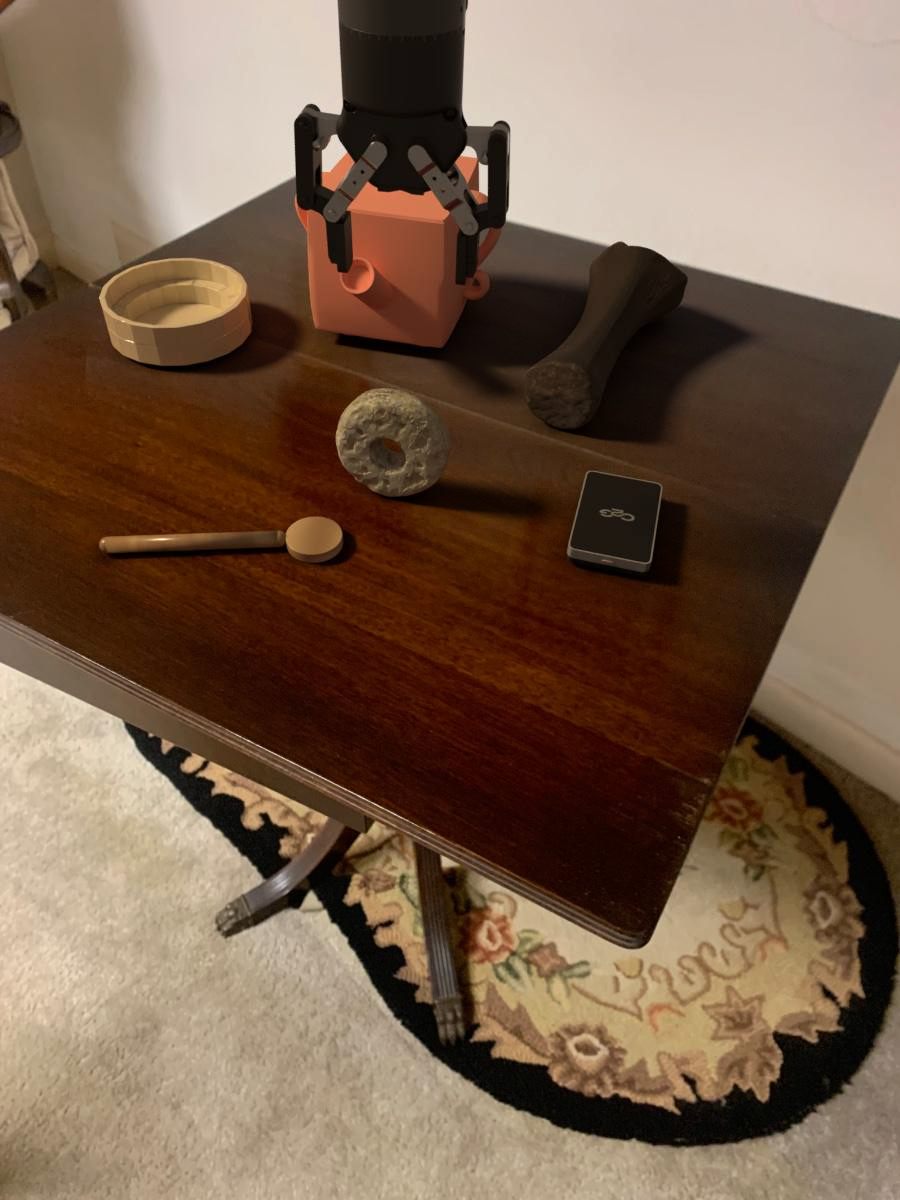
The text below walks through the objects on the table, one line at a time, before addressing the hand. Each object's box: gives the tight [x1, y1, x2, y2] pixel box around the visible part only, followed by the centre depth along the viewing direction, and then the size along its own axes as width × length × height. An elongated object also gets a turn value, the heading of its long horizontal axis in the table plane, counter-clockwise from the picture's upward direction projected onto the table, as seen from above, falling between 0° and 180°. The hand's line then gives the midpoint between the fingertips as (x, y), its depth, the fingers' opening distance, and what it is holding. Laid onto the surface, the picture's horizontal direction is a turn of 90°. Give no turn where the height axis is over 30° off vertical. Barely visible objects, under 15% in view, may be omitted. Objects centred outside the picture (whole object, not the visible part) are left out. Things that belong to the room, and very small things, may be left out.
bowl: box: [98, 257, 253, 367], centre depth 96 cm, size 15×15×5 cm
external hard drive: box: [566, 470, 663, 578], centre depth 77 cm, size 7×11×2 cm, turn 165°
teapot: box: [294, 151, 503, 349], centre depth 94 cm, size 25×23×18 cm
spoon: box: [98, 516, 344, 564], centre depth 74 cm, size 20×5×1 cm, turn 95°
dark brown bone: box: [524, 241, 689, 431], centre depth 94 cm, size 11×10×28 cm
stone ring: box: [335, 387, 452, 497], centre depth 77 cm, size 10×4×10 cm, turn 73°
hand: (403, 274), depth 64 cm, fingers open, 8 cm apart
